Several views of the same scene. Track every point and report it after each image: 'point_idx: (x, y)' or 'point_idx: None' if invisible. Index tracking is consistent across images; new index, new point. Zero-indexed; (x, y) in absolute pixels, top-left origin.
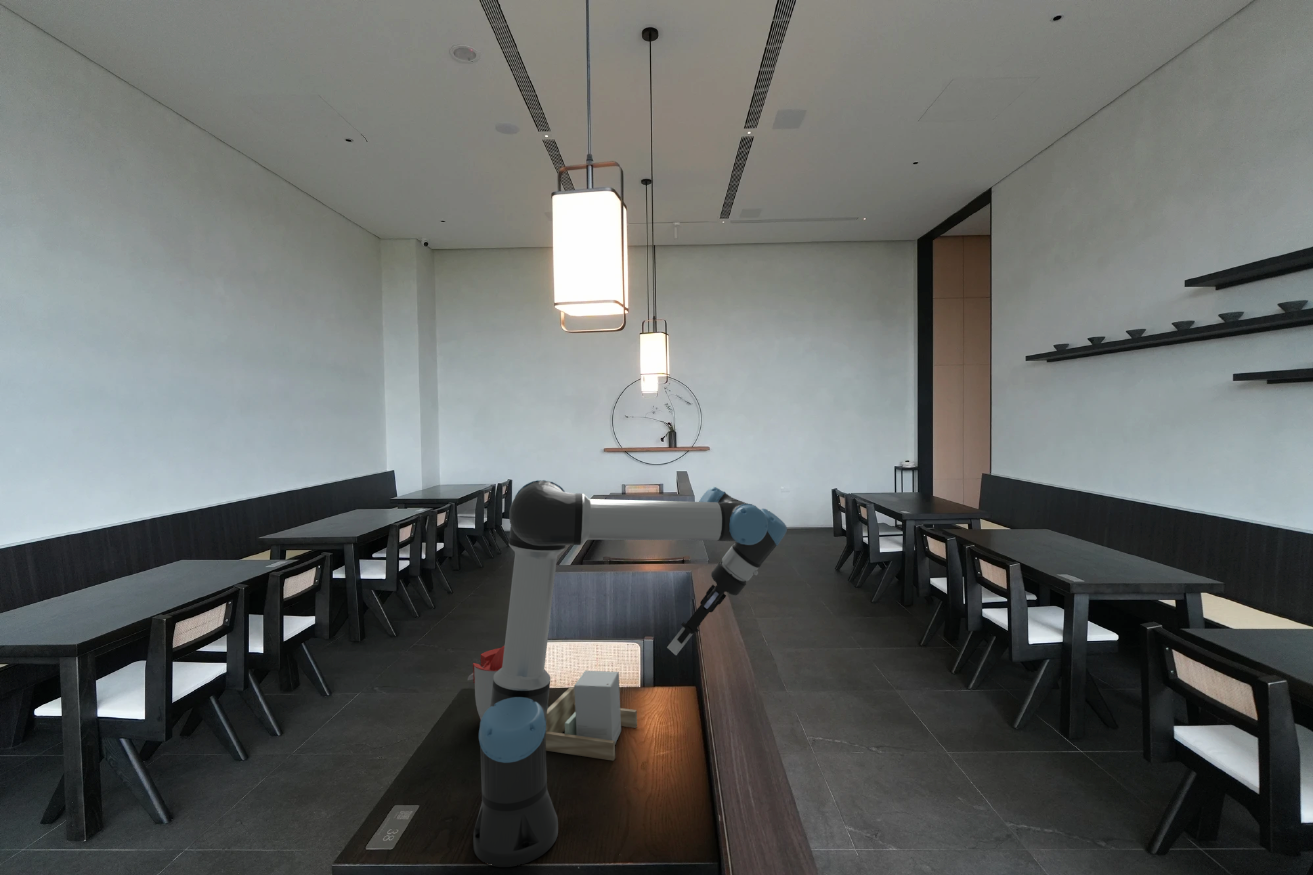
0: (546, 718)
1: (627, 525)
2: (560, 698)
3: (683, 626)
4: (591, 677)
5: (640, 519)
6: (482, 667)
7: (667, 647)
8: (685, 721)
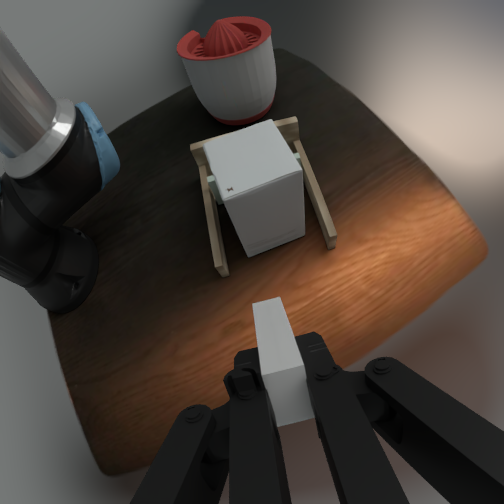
0: (197, 152)
1: None
2: None
3: (233, 387)
4: (244, 145)
5: None
6: (202, 38)
7: (253, 305)
8: (395, 313)
